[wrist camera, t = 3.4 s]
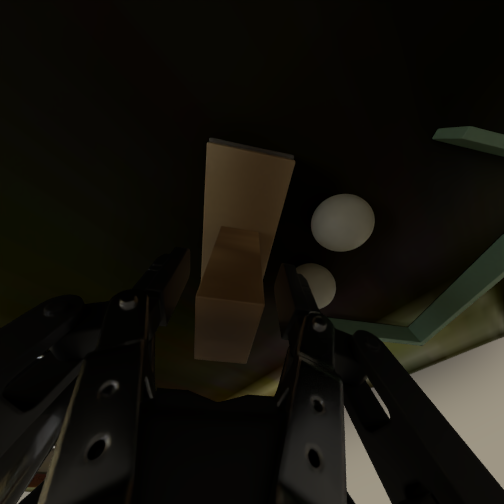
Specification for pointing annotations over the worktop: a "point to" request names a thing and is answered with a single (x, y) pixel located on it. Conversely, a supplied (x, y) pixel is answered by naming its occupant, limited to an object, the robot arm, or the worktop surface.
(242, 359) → the brown t-shaped block
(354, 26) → the worktop surface
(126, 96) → the worktop surface
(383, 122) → the worktop surface
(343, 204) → the paper ball
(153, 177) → the worktop surface
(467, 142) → the corral
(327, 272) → the paper ball
